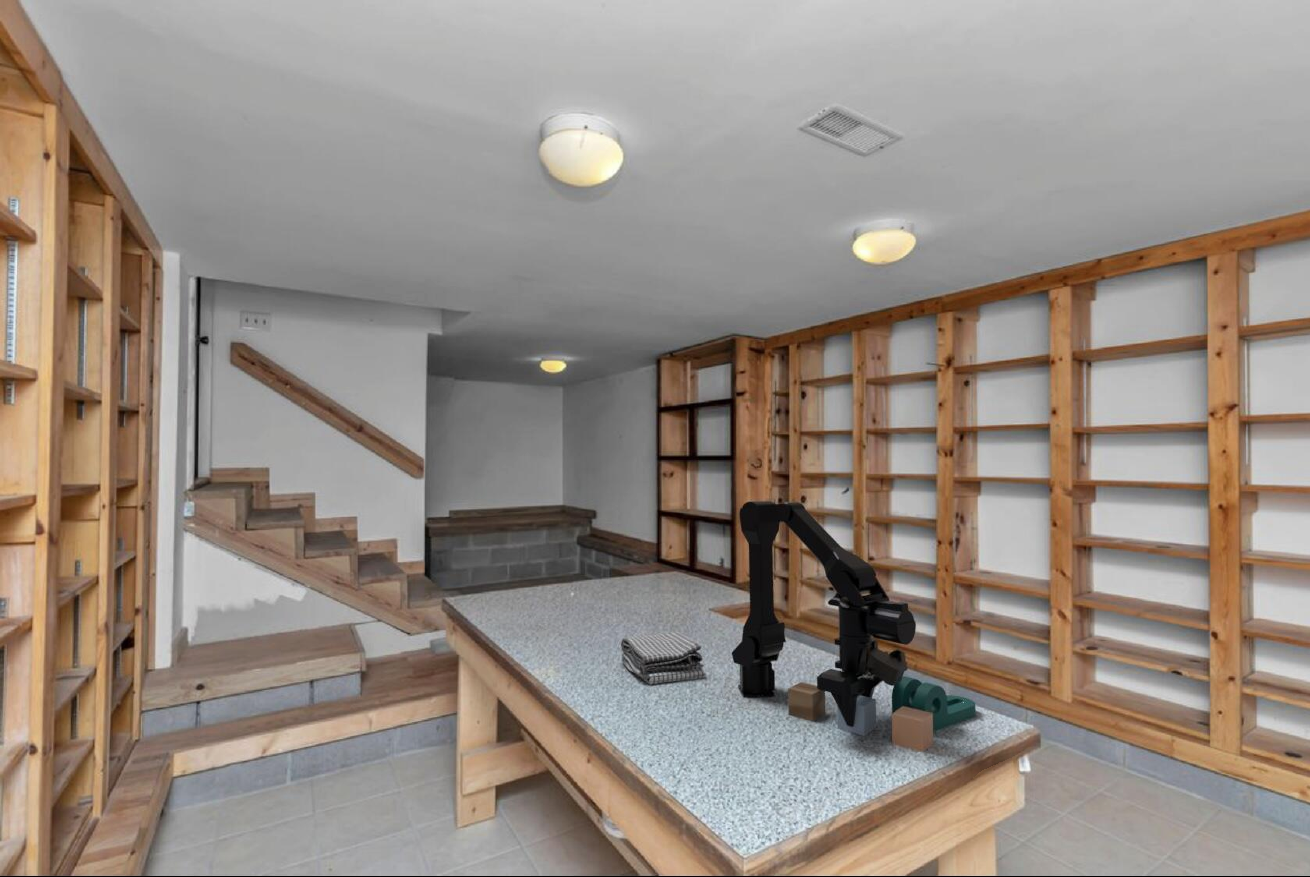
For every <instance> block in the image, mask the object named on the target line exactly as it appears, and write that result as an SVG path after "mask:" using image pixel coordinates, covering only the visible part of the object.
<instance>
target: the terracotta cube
mask: <svg viewBox="0 0 1310 877" xmlns="http://www.w3.org/2000/svg"><path fill="white" fill-rule="evenodd" d="M891 736H892V737H891V739H892V740H891V741H892V745H895V746H899V747H902V748H906V749H910V750H912V751H913V750H914V751H917V752H921V753H924V752H925V751H926V750H927V749H928V748H930V747H931V745H933V743H934V731H933V713H930V712H926V711H922V710H917V709H913V708H909V707H905V706H902V707H901V708H900V709H898V710H897V711H895V712H894V713H892V712H891Z"/></svg>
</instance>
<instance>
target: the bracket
mask: <svg viewBox="0 0 1310 877" xmlns="http://www.w3.org/2000/svg"><path fill="white" fill-rule="evenodd" d="M892 688H893V689H892V693H891V714H892V713H894V712H895V711H897V710H898V709H900V708H901V707H902V706H905V707H909V708H913V709H917V710H922V711H926V712H930V713H933V732H936V731H939V730H941V729H945V728H947V727H950V726H952V725H956V724H959V723H962V722H964V721H967V720H970V719H973V718H975V717H976V716H977V715H976V714H977V713H976V703H975V701H974V700H973V699H970V698H967V697H963V696H959V695H954V694H953V695H952V694H947V692H946V691H945V689H944V688H943V687H942V686H940V685H937V684H933V683H930V682H922V681H920V680H919V679H916V678H913V677H910V676H907V675H903V677H902V680H901V682H898V683H896V684H895V685H894V686H892ZM963 702H964V703H963Z"/></svg>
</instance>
